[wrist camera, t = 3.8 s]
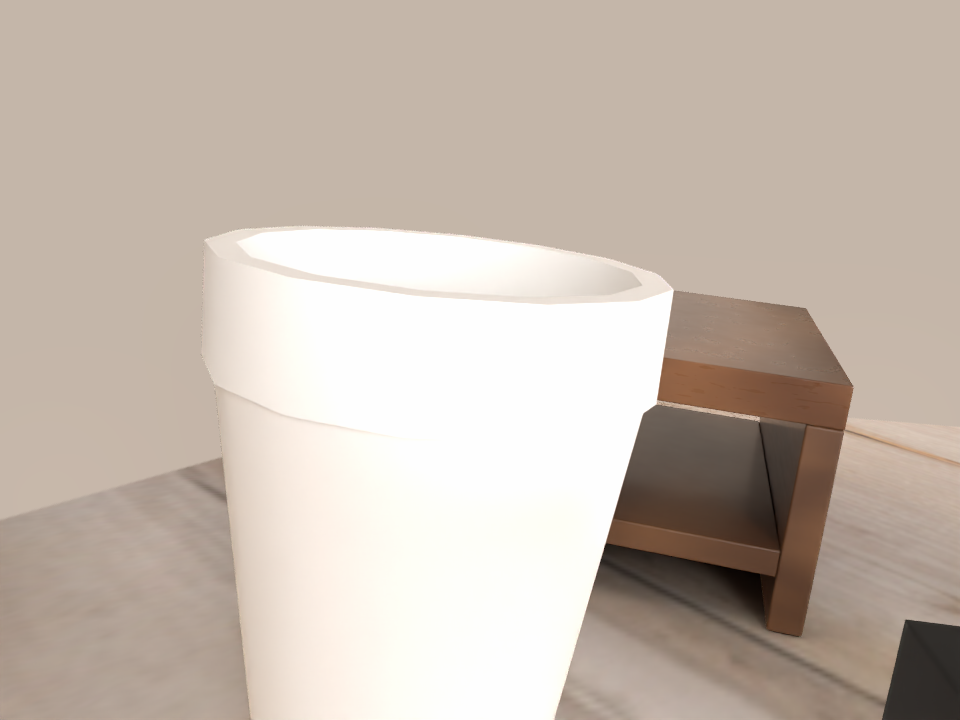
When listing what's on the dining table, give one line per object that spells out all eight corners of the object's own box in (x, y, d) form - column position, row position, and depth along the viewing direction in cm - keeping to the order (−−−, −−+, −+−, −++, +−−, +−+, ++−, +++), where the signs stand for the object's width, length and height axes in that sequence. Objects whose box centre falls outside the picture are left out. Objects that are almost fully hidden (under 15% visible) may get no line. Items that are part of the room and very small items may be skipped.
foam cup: (665, 899, 19) (772, 309, 16) (223, 1030, 16) (252, 299, 13) (490, 656, 28) (539, 236, 25) (175, 703, 24) (185, 217, 21)
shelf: (439, 561, 34) (462, 326, 31) (525, 436, 49) (544, 272, 47) (801, 638, 31) (854, 386, 29) (773, 480, 46) (806, 308, 44)
